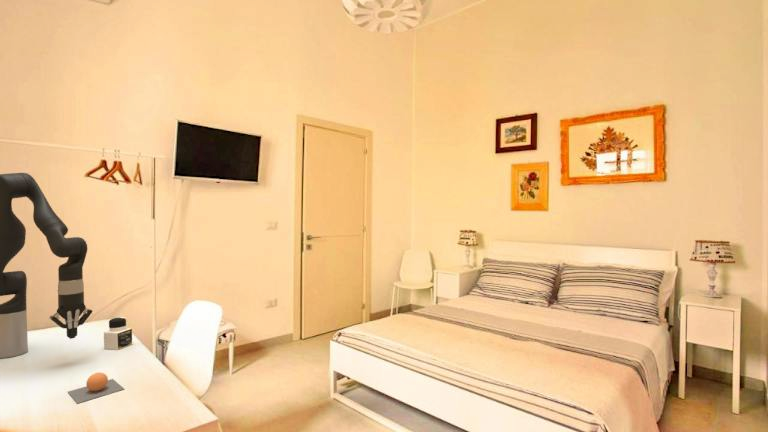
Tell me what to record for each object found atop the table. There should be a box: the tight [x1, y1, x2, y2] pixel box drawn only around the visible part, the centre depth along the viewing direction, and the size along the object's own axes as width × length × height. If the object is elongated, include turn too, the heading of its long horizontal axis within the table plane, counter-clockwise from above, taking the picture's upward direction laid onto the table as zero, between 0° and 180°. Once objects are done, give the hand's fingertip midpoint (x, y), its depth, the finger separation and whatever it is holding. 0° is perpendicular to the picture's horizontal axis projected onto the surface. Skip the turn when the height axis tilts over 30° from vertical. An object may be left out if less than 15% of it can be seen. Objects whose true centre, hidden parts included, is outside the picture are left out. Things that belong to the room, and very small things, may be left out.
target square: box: [67, 378, 125, 405], centre depth 124 cm, size 12×12×1 cm
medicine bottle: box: [103, 316, 133, 351], centre depth 166 cm, size 7×7×12 cm
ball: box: [85, 372, 109, 391], centre depth 124 cm, size 6×6×6 cm
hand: (72, 337), depth 147 cm, fingers closed
